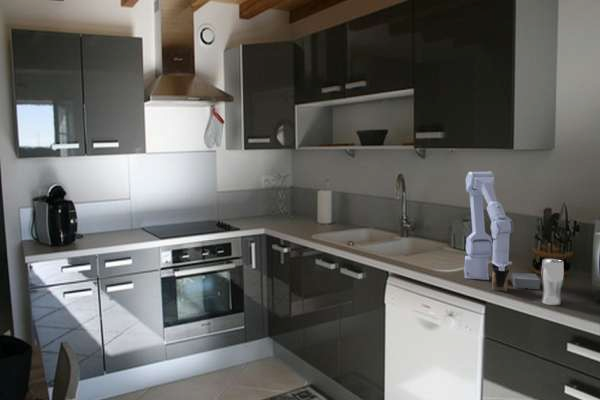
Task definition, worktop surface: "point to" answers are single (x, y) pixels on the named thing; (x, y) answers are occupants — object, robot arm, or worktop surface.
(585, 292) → the worktop surface
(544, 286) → the beer glass
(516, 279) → the slate block
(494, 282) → the walnut block
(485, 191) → the robot arm
